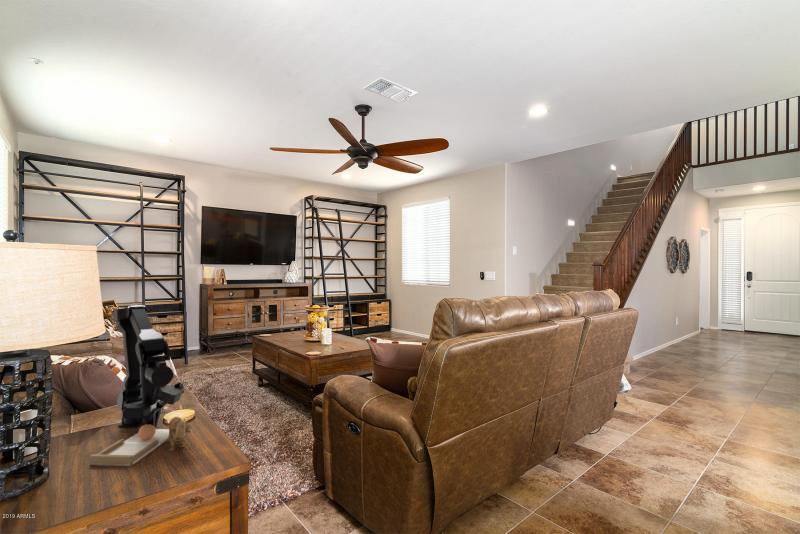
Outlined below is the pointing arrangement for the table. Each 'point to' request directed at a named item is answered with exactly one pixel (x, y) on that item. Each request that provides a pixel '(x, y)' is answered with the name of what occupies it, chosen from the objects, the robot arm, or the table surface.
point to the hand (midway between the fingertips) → (153, 428)
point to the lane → (129, 450)
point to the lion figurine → (178, 431)
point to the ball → (146, 431)
